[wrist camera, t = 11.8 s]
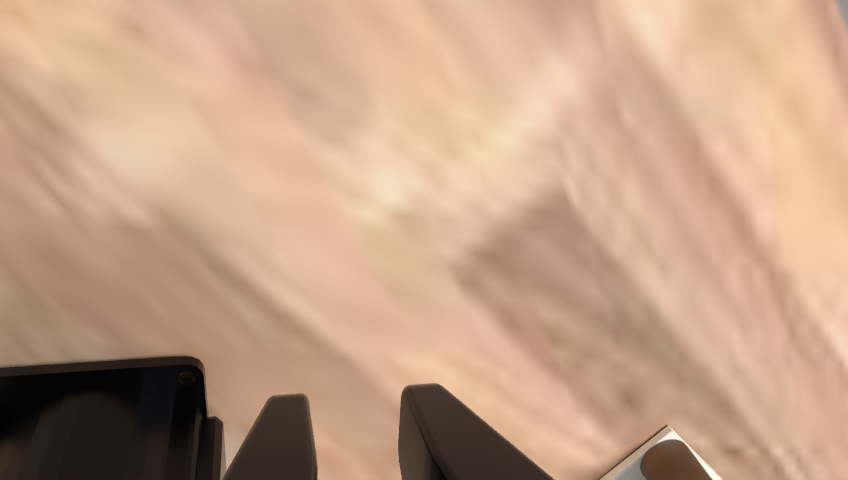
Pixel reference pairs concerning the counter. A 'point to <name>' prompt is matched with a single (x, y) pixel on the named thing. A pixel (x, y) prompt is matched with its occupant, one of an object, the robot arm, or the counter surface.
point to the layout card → (628, 473)
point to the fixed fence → (672, 462)
